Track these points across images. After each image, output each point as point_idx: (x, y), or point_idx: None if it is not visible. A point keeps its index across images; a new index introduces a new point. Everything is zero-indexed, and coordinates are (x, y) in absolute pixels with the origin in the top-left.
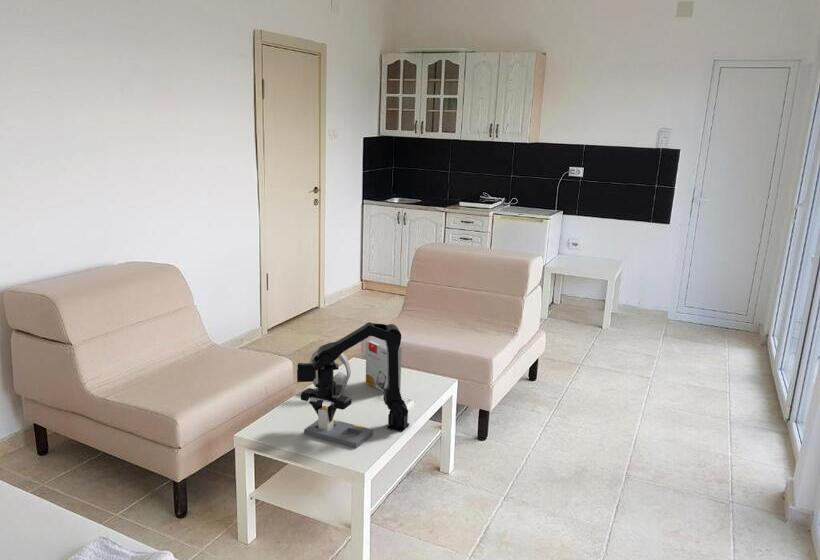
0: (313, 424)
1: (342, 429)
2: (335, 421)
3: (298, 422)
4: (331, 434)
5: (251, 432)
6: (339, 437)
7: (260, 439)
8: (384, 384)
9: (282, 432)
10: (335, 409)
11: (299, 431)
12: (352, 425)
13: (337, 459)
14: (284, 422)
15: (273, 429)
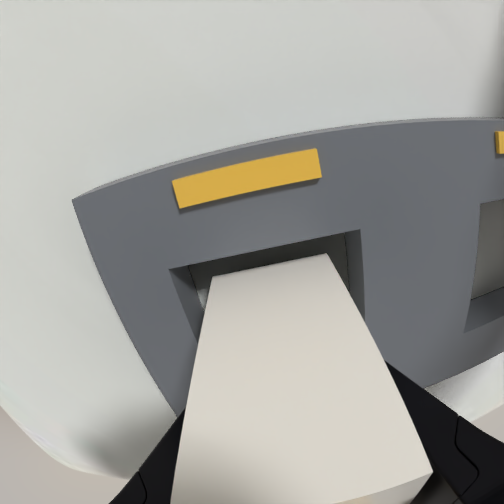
0: (164, 368)
1: (453, 270)
2: (291, 182)
3: (27, 317)
4: (411, 376)
5: (54, 450)
6: (470, 358)
7: (118, 473)
8: None
9: (101, 427)
10: (493, 464)
11: (138, 394)
12: (485, 145)
13: (478, 406)
14: (7, 354)
15: (57, 419)
